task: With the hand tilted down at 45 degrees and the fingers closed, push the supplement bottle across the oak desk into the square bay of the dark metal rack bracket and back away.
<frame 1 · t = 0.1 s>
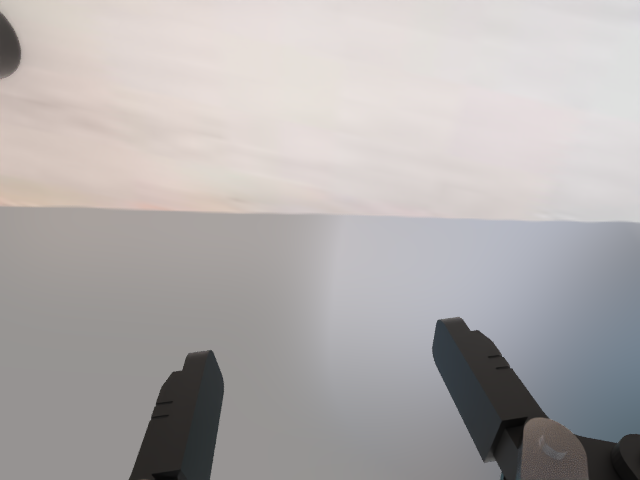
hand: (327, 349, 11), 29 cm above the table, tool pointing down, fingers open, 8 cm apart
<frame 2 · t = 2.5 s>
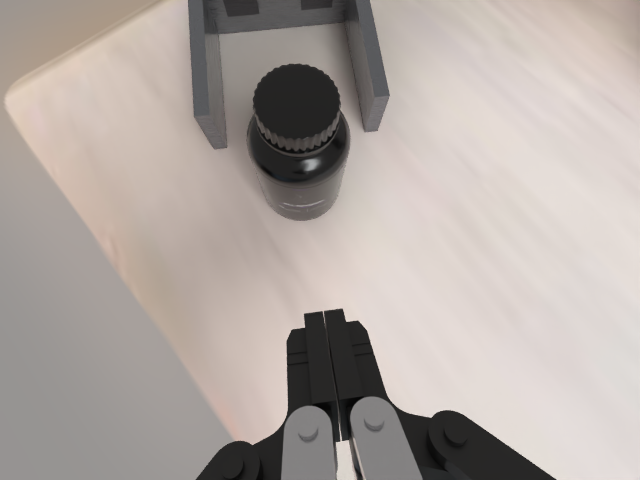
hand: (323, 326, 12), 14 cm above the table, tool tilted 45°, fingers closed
supplement bottle: (302, 187, 29), on the table
rack bracket: (289, 82, 31), on the table
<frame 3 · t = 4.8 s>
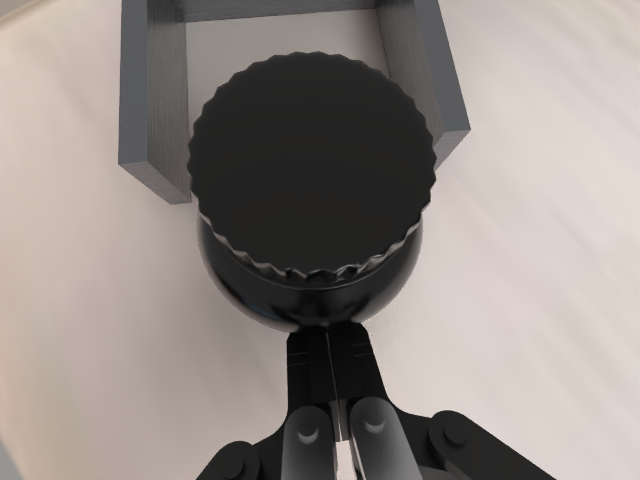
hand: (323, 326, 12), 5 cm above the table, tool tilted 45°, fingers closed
supplement bottle: (311, 267, 18), on the table, touching gripper
rack bracket: (291, 97, 20), on the table
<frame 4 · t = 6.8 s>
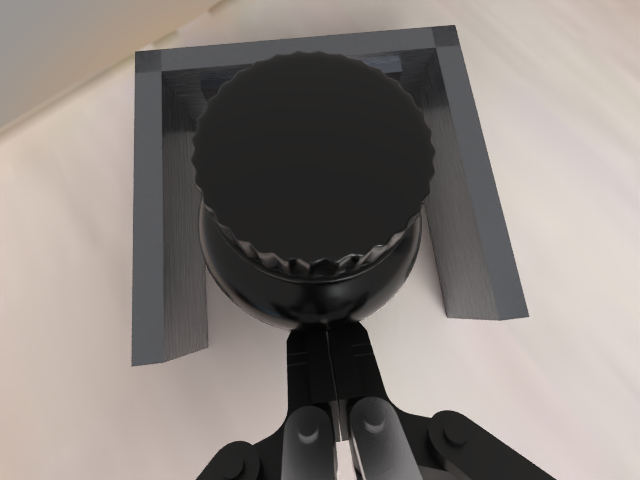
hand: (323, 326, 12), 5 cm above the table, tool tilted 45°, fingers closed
supplement bottle: (309, 271, 18), on the table, touching gripper
rack bracket: (316, 220, 18), on the table
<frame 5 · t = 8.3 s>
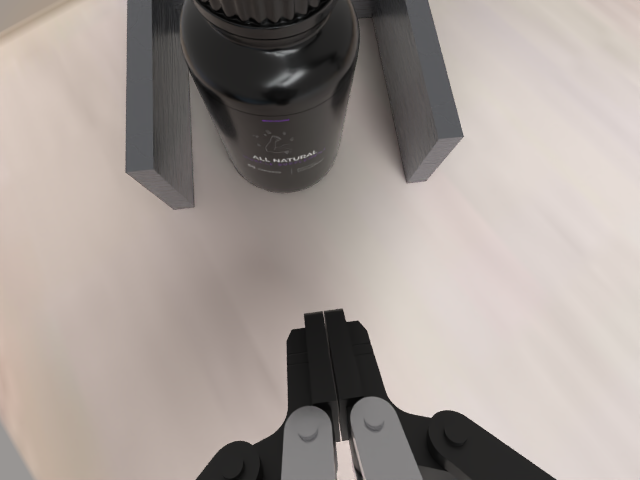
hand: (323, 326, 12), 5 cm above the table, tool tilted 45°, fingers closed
supplement bottle: (286, 147, 20), on the table
rack bracket: (291, 105, 21), on the table
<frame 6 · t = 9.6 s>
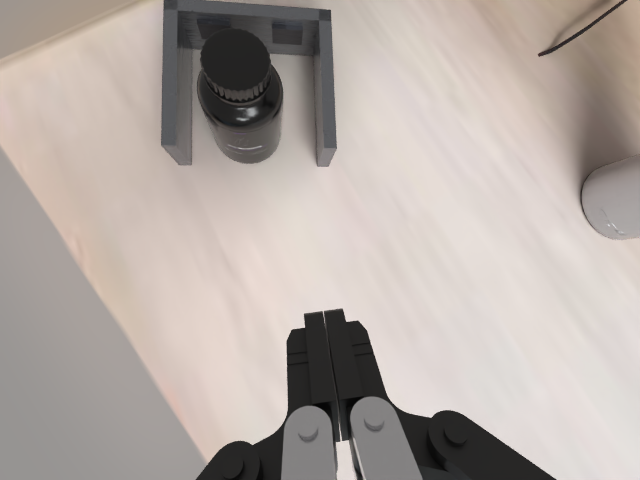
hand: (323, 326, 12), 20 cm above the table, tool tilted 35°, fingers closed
supplement bottle: (249, 135, 34), on the table
rack bracket: (255, 108, 34), on the table
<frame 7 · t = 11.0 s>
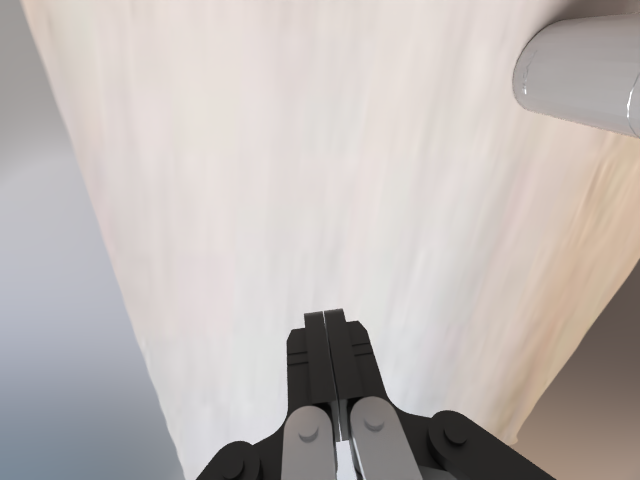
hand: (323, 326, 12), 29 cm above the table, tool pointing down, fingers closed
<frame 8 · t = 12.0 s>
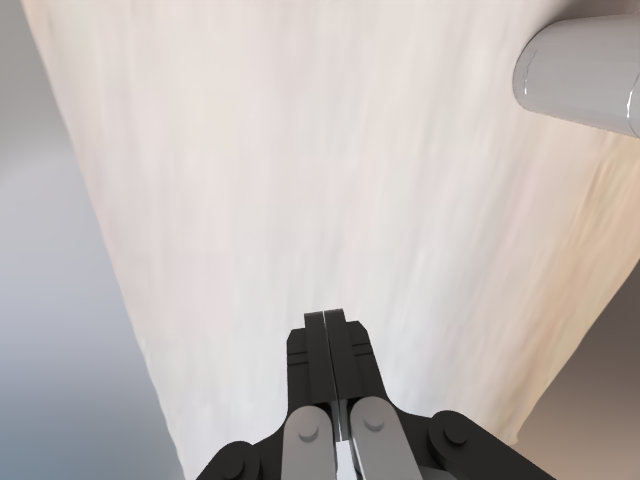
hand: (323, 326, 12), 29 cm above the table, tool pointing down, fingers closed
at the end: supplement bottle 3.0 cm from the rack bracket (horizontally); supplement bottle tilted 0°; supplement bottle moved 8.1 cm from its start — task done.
